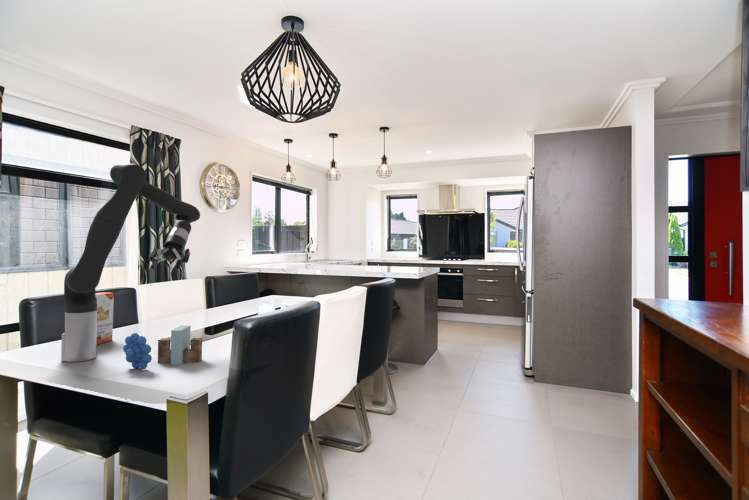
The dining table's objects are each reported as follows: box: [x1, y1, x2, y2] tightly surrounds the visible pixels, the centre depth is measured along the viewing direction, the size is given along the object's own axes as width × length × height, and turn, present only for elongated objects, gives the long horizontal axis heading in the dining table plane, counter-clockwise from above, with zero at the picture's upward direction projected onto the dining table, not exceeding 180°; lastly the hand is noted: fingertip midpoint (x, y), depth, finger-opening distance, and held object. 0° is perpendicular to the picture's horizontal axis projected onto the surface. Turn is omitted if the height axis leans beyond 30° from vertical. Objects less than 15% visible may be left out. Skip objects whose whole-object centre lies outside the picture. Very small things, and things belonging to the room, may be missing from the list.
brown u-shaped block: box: [157, 337, 203, 364], centre depth 139 cm, size 14×3×8 cm, turn 97°
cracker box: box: [95, 291, 115, 345], centre depth 160 cm, size 14×6×21 cm, turn 168°
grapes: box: [122, 332, 153, 370], centre depth 128 cm, size 12×7×12 cm, turn 72°
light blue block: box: [170, 325, 191, 366], centre depth 139 cm, size 4×8×12 cm, turn 7°
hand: (164, 268), depth 152 cm, fingers open, 8 cm apart
